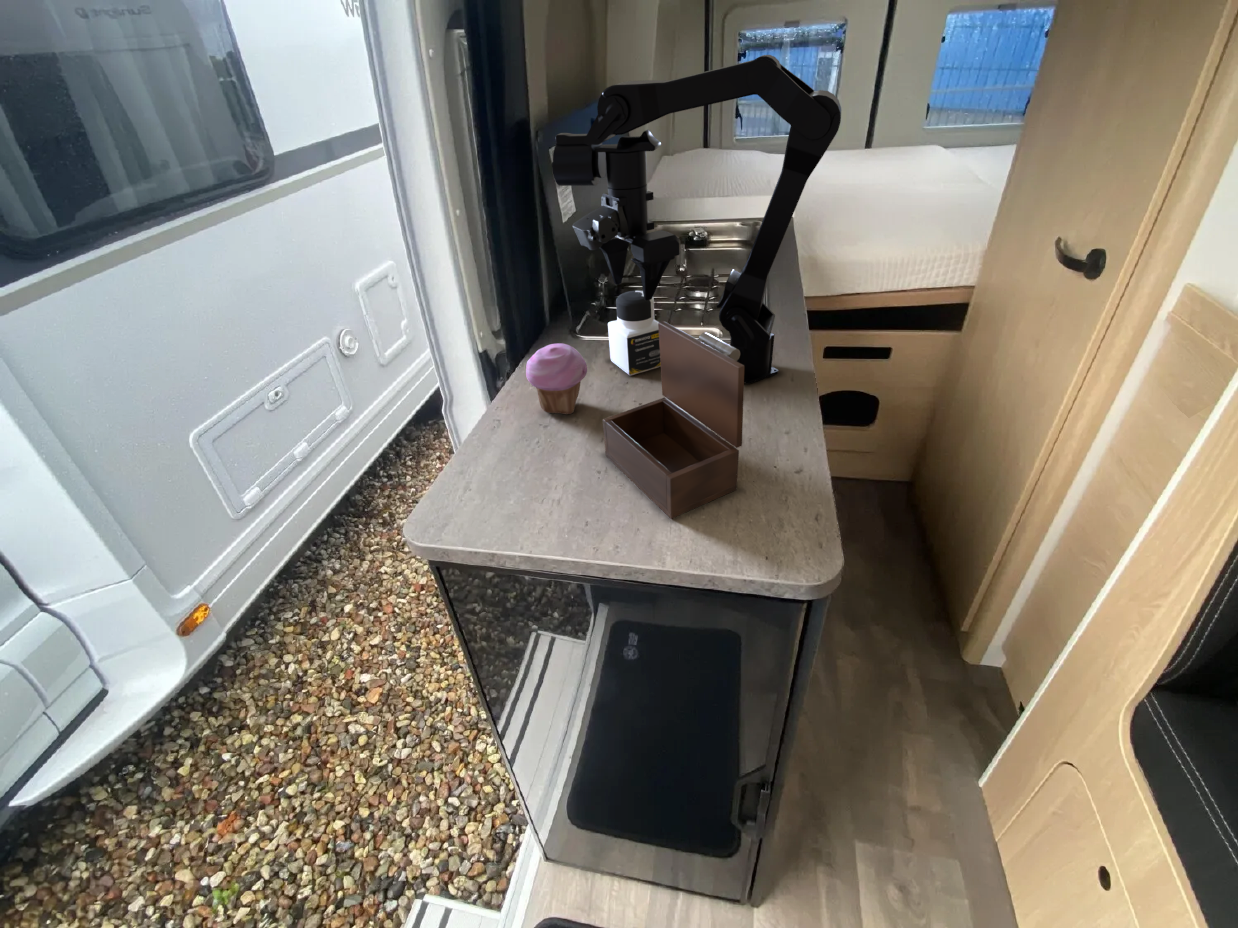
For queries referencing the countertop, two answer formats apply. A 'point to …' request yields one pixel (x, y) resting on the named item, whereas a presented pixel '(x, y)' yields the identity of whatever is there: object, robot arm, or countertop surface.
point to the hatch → (703, 380)
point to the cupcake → (556, 377)
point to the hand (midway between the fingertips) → (632, 291)
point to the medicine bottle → (634, 334)
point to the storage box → (671, 456)
